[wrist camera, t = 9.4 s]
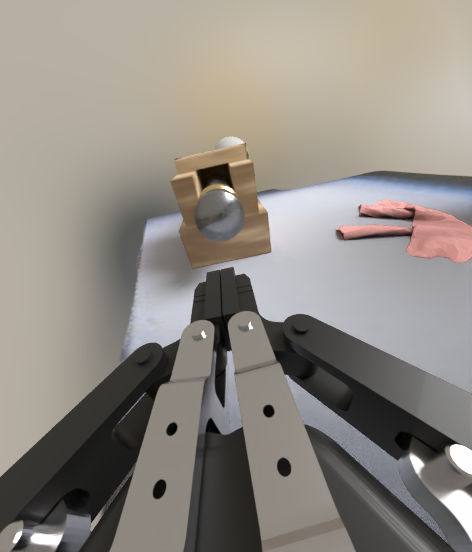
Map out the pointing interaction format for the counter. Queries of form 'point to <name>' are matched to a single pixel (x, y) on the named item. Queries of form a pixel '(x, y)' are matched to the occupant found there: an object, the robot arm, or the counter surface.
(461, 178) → the counter surface
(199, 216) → the shaft
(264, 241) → the bearing block
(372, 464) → the counter surface
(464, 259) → the cloth
